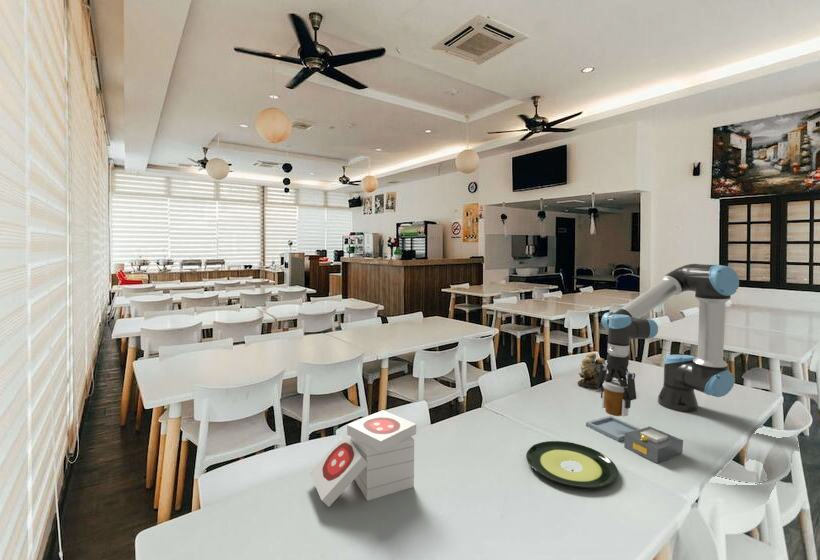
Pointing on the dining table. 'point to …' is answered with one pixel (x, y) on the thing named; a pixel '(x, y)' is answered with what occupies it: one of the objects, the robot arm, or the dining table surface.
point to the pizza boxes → (369, 458)
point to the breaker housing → (653, 446)
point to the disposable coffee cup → (613, 397)
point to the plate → (552, 453)
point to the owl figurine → (590, 371)
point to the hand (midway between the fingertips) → (614, 411)
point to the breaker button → (654, 436)
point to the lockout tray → (612, 427)
